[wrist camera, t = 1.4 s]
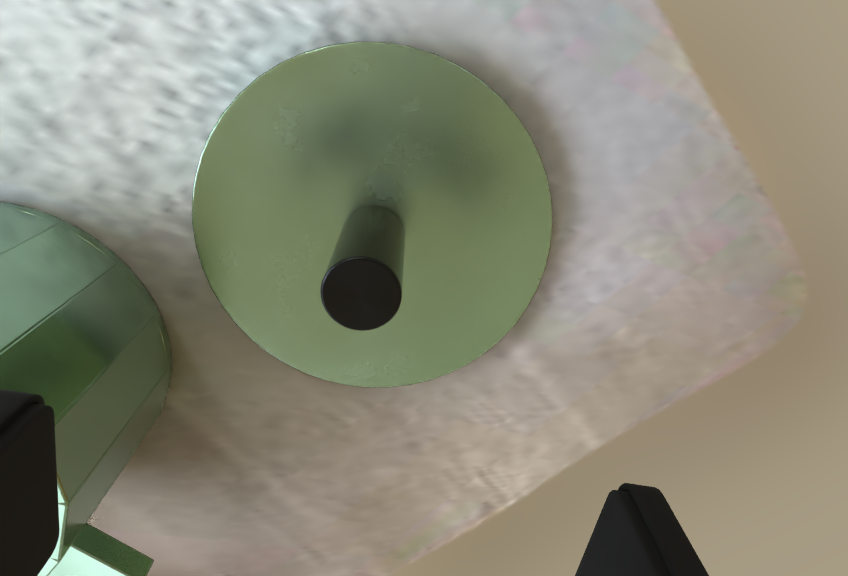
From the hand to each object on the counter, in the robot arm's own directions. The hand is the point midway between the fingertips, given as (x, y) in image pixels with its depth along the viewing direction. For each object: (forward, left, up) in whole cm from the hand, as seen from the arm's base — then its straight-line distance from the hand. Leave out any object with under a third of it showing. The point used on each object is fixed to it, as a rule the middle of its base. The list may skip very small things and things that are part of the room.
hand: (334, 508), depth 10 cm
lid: (0, 0, -14) cm, 14 cm away
